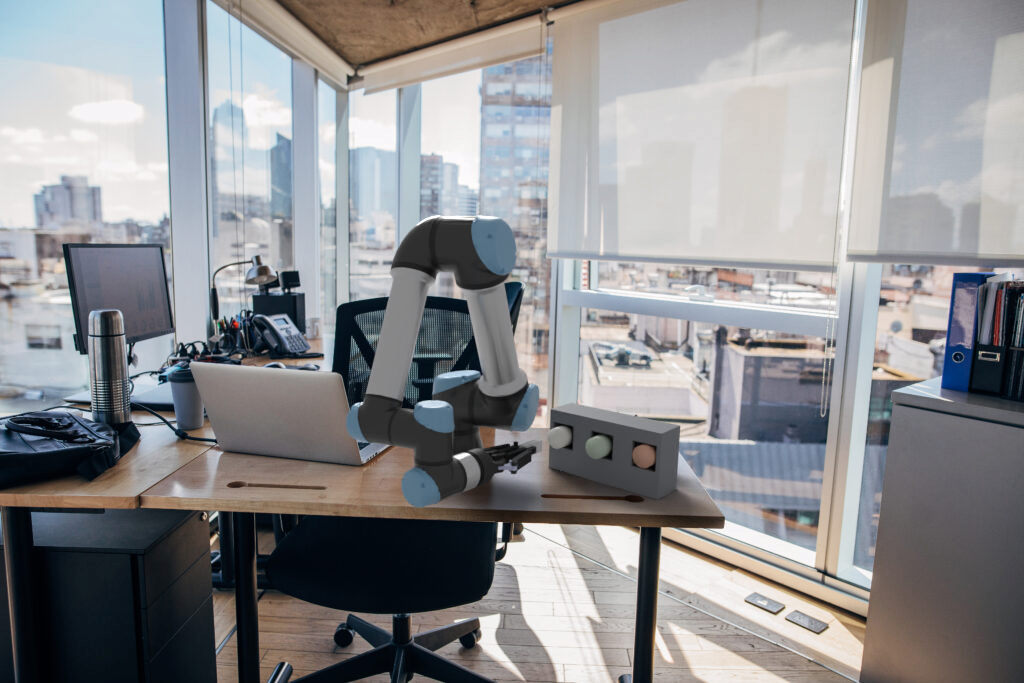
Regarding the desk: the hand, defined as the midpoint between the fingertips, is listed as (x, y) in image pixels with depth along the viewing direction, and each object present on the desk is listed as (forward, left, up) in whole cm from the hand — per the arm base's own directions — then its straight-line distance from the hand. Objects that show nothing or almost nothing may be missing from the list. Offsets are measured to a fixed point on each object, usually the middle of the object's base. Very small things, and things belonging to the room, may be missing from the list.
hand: (539, 444), depth 151 cm
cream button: (+6, +6, -3) cm, 9 cm away
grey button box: (+18, +1, -9) cm, 20 cm away
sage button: (+14, -3, -2) cm, 14 cm away
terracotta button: (+22, -10, -2) cm, 25 cm away
